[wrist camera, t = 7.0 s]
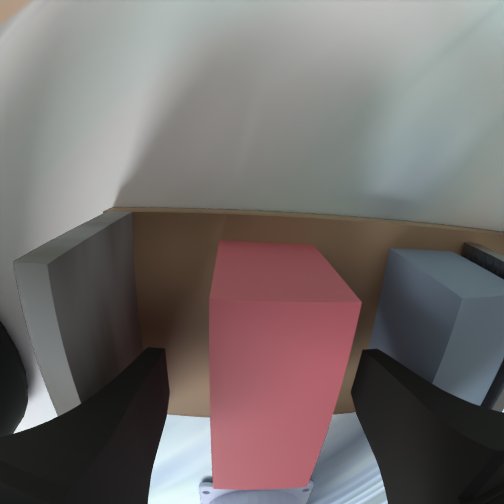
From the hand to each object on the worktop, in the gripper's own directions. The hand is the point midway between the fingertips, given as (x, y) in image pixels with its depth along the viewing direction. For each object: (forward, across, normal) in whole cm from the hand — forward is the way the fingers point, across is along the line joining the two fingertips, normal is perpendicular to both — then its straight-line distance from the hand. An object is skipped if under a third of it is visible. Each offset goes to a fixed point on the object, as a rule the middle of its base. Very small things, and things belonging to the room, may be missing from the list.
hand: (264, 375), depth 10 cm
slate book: (+3, -7, 0) cm, 7 cm away
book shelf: (+4, -9, 0) cm, 10 cm away
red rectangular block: (+3, 0, 0) cm, 3 cm away
